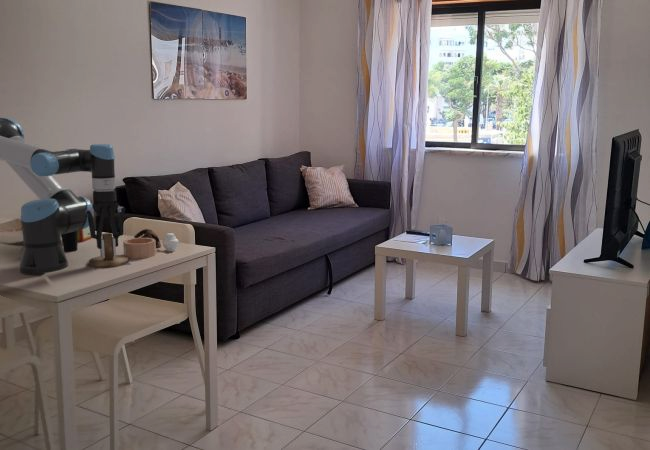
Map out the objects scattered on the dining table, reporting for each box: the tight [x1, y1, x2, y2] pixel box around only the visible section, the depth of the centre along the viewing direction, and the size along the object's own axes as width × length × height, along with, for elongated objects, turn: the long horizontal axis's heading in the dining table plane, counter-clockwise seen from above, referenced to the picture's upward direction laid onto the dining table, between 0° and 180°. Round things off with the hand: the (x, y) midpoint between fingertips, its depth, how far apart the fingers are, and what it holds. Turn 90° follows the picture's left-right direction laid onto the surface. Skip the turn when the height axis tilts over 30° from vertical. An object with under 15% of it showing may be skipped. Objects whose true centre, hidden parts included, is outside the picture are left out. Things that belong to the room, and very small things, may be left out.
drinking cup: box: [60, 231, 78, 253], centre depth 251 cm, size 8×8×20 cm
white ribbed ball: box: [161, 232, 179, 252], centre depth 253 cm, size 6×6×7 cm
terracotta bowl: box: [122, 237, 157, 260], centre depth 242 cm, size 11×11×6 cm
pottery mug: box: [133, 228, 162, 249], centre depth 259 cm, size 12×10×8 cm
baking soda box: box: [77, 199, 93, 243], centre depth 271 cm, size 10×6×16 cm
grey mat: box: [87, 260, 131, 270], centre depth 231 cm, size 12×12×1 cm
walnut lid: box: [88, 232, 129, 269], centre depth 230 cm, size 13×13×10 cm
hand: (108, 256), depth 230 cm, fingers closed on walnut lid, 3 cm apart
